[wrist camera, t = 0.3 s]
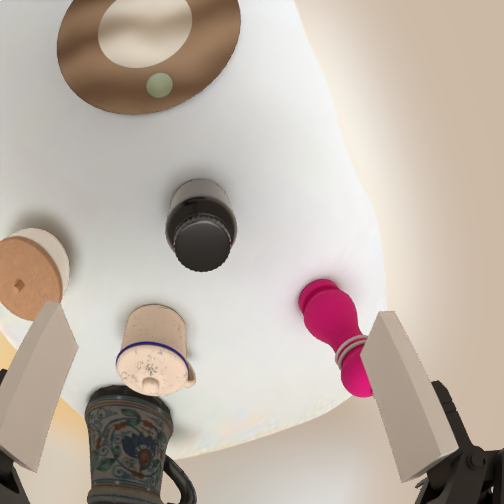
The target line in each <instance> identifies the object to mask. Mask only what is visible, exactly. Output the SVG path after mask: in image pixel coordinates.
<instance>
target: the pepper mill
mask: <svg viewBox="0 0 504 504" xmlns="http://www.w3.org/2000/svg"><path fill="white" fill-rule="evenodd" d="M299 307H300V309H301V311H302V313H303V315H304V323H305V326H306V328H307V329H308V330H309V332H310V333H311V334H312V335H313V336H314V337H316V338H317V339H318V340H320V341H322V342H325V343H327V344H329V345H330V346H331V347H332V348H333V350H334V351H335V354H336V355H335V362H336V364H337V365H338V367H339V369H340V370H341V380H342V383H343V385H344V387H345V388H346V390H347V391H348V392H349V393H351V394H352V395H354V396H357V397H370V396H373V397H374V398H375V396H374V393H373V390H372V387H371V384H370V382H369V379H368V376H367V373H366V370H365V368H364V365H363V362H362V359H361V357H360V354H361V351H362V349H363V347H364V345H365V343H366V341H367V338H368V336H366V335H363V334H362V333H361V331H360V329H359V327H358V319H357V311H356V308H355V305H354V303H353V301H352V299H351V298H350V296H349V295H348V294H346V293H345V292H343V291H340V290H339V288H338V287H337V286H336V285H335V284H334V283H333V282H331V281H329V280H317V281H314V282H312V283H311V284H309V285H308V286H307V287H305V289H304V290H303V291H302V292H301V295H300V297H299Z"/></svg>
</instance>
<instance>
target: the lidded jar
mask: <svg viewBox="0 0 504 504" xmlns="http://www.w3.org/2000/svg"><path fill="white" fill-rule="evenodd" d="M69 276H70V267H69V260H68V257H67V254H66V252H65V249H64V248H63V246H62V244H61V243H60V242H59V241H58V239H57V238H56V237H54V236H53V235H52V234H50V233H49V232H47V231H45V230H42V229H38V228H27V229H22V230H19V231H17V232H15V233H13V234H11V235H10V236H8V237H7V238H5V239H3V240H2V241H0V302H1V303H2V304H3V305H4V306H5V307H6V308H7V309H8V310H9V311H10V312H12V313H13V314H15V315H16V316H18V317H20V318H22V319H25V320H29V321H34V320H35V318H36V317H37V315H38V313H39V312H40V310H41V308H42V307H43V305H44V303H45V302H46V301H50V302H59V303H61V300H62V298H63V296H64V294H65V291H66V289H67V286H68V281H69Z"/></svg>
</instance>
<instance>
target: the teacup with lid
mask: <svg viewBox="0 0 504 504" xmlns="http://www.w3.org/2000/svg"><path fill="white" fill-rule="evenodd" d="M116 369H117V373H118V375H119V377H120V379H121V380H122V381H123V382H124V384H126V385H127V386H128V387H129V388H131V389H132V390H134V391H136V392H138V393H141V394H144V395H149V396H165V395H169V394H172V393H174V392H176V391H178V390H179V389H180V388H182V386H183V387H186V388H189V387H192V386H193V385H194V384H195V383H196V376H195V372H194V370H193V368H192V366H191V364H190V363H189V362H188V361H187V352H186V327H185V324H184V321H183V320H182V318H181V317H180V316H179V315H178V314H177V313H176V312H175V311H173V310H171V309H169V308H167V307H164V306H160V305H146V306H143V307H140V308H138V309H137V310H135V311H134V312H133V313H132V314H131V315H130V317H129V318H128V321H127V325H126V329H125V333H124V337H123V341H122V345H121V350H120V353H119V354H118V356H117V359H116ZM187 379H188V380H187Z"/></svg>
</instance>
